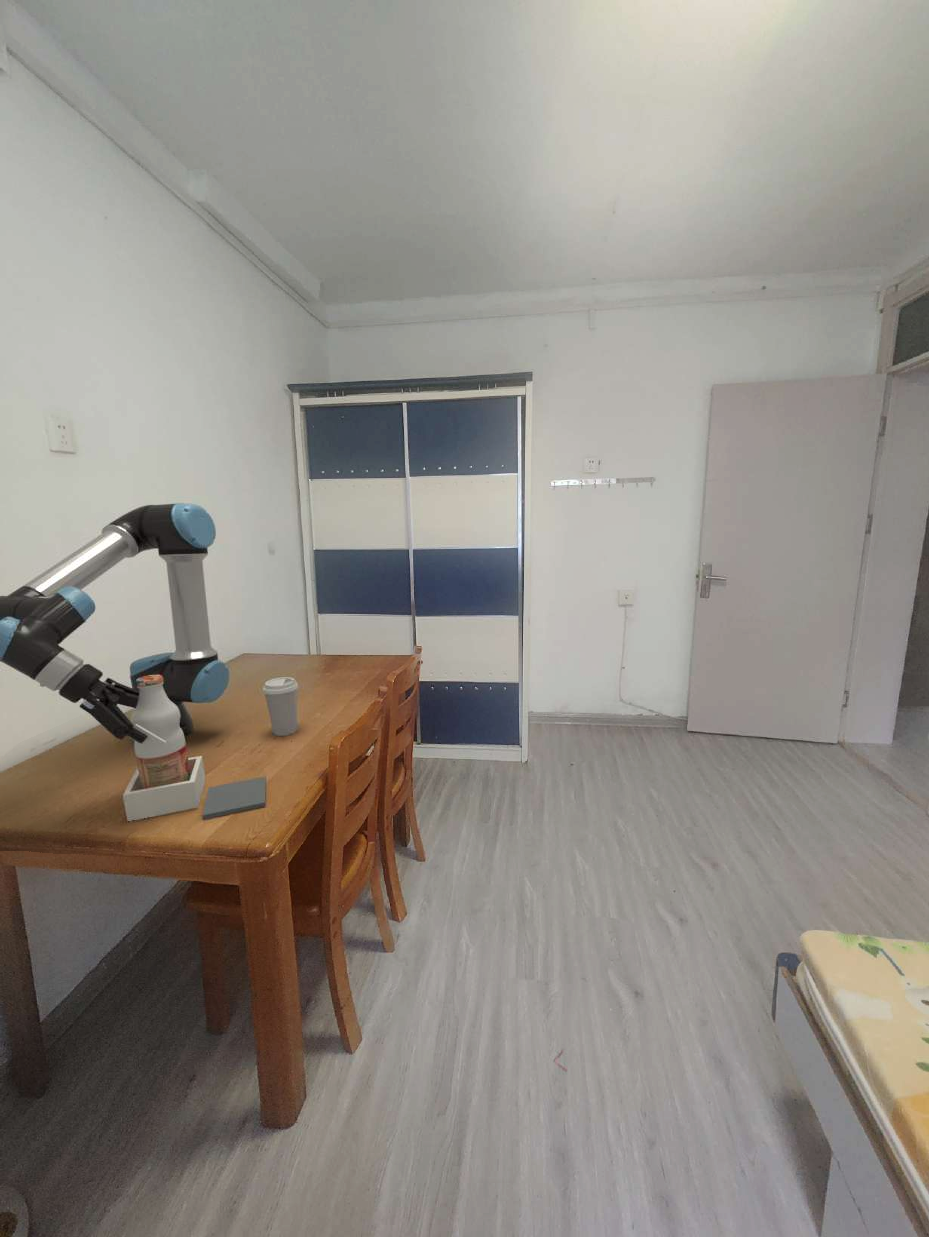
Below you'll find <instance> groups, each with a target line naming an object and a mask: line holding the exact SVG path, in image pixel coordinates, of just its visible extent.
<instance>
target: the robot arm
mask: <svg viewBox="0 0 929 1237" xmlns="http://www.w3.org/2000/svg"><path fill="white" fill-rule="evenodd" d="M216 537H217V529H216V525H215V522H214V520H213V518H212V515H210V513H208V512H207V510H206V509H205V508H204V507H202V506H200V505H199V504H195V503H184V502H180V503H167V504H166V503H165V504H148V505H147V504H146V505H143V506H139V507H136V508H134V509H132V510H131V511H128V512H126V513H125V514H123V515H121V516H119V517H118V518H116V519H115V520H113V521H111V522H109V523H108V524H107V525H104V526H103V528H102V529H101V534H100V535H98V536H97V537H95V538H93V539H92V540H90V541H89V542H87V543H86V544H84V545H82V546H81V547H80V548H78V549H77V550H76V551H74V552H72V553H71V554H69V555H68V556H66V557H65V558H63V559H62V560H60V561H58V562H57V563H56V564H54V565H53V566H52V567H49V568H48V569H46V570H45V571H43V572H42V573H41V574H39V575H37V576H35V577H34V578H33V579H31V580H30V581H28V582H26V583H25V584H24V585H22V586H21V587H19V588H17V589H16V590H14V591H13V592H11V593H10V594H7V595H0V663H4V664H5V665H7V666H8V667H11V668H13V669H14V670H16V671H17V672H20V673H21V674H22V675H25V676H26V677H28V678H31V679H32V680H33V681H35V682H37V683H39V686H40V687H42V688H44V687H45V688H47V689H49V690H51V691H53V692H56V691H58V695H59V696H60V697H63V699H66V700H67V701H69V702H70V703H71V702H72V703H73V704H77V703H79V701H81V699H82V700H83V701H82V703H81V704H79V708H80V709H82V710H83V711H85V712H86V713H88V714H89V715H90V716H92V718H93V719H95V720H96V721H97V722H98V723H99V724H100V725H101V726H103V727H104V729H106V730H107V731H108V732H110V734H112V736H113V737H115V738H116V739H118V740H124V738H126V737H127V738H129V739H131V740H133V742H134V741H136V742H137V743H139V744H141V745H143V746H144V747H146V748H148V749H150V750H151V751H153V752H155V753H157V751H158V750H159V749H160V748H161V747H162V746H163V745H164V744H165V742H166V741H165V740H163V739H161V738H160V737H158V736H156V735H155V734H153V733H151V732H149V731H148V730H146V729H144V728H143V727H141V726H139V725H138V724H136V725H135V726H134V725H133V724H132V723H131V719H129V718H128V717H127V715H126V714H125V713H124V711H122V710H121V708H120V707H119V706H118V705H121V706H125V707H128V708H133V709H135V708H136V706H137V703H138V698H139V688H137V685H136V680H137V679H138V678H141V677H144V676H148V675H162V676H163V679H164V681H163V682H164V683H163V689H164V691H165V693H166V695H167V697H168V698H169V699H170V701H172V702H173V703H174V704H175V705H176V706H177V707H178V708H179V711H180V723H179V725H180V728H181V729H182V731H183V733H184V736H186V735H187V734H189V733H191V732H192V731H194V727H195V726H194V720H193V718H192V716H191V714H190V712H189V711H188V709H187V708H186V706H185V704H184V703H194V704H204V703H206V704H207V703H209V704H210V703H213V702H216V701H217V700H218V699H220V698H221V697H222V696H223V694H224V693H225V691H226V690H227V687H228V685H229V681H230V670H229V668H228V665H226V663H225V662H224V661H221V660H219V657H218V655H219V654H218V651H217V650H216V649H215V648H213V647H212V646H211V635H210V634H211V633H210V624H209V614H208V604H207V595H206V594H207V593H206V584H205V575H204V574H205V572H204V566H203V565H204V564H203V561H204V559H205V558H206V557H207V556H208V555H209V553H208V548H209V547H211V546H212V545H213V544H214V543H215V539H216ZM149 550H157V551H158V552H157V553H158V557H160V558H161V559H162V560H163V561H164V562H165V563H166V572H167V581H168V591H169V598H170V600H169V601H170V610H171V618H172V626H173V628H172V629H173V634H174V645H175V651H174V652H171V651H170V652H164V653H163V652H162V653H157V654H153V655H149V656H144V657H142V658H138V659H137V660H134V661H132V663H131V664H130V665H129V673H130V675H129V678H130V682H131V687H130V686H127V685H125V684H123V683H119V682H117V681H116V680H114V679H112V678H110V677H107V678H106V679H105V680H104V681H101V680H100V679H101V678H102V677H103V674H104V673H103V671H101V670H100V669H98V668H97V667H95V666H93V665H91V664H90V663H85V664H84V659H83V658H80V657H79V656H77V655H76V654H74V653H72V652H71V651H69V650H67V649H65V648H64V647H62V646H60V644H61V643H62V642H64V640H65V639H67V638H68V637H69V636H71V634H73V633H74V632H75V631H76V630H77V629H79V628H80V627H81V626H82V625H83V624H85V623H86V622H87V620H88V619H89V618H90V617H91V616H92V615H94V613H95V611H96V609H97V608H96V603H95V601H94V600H93V599H92V597H91V596H90V595H89V594H88V593H87V592H85V591H83V590H84V588H86V587H88V586H89V585H90V584H91V583H93V582H94V581H96V580H97V579H98V578H100V577H101V576H102V575H104V574H105V573H106V572H108V571H109V570H111V569H113V567H114V566H116V565H118V564H119V563H120V562H121V561H123V560H124V559H125V558H126V559H127V558H128V559H131V558H134V557H136V556H137V555H138V554H140V553H143V552H145V551H149Z"/></svg>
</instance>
